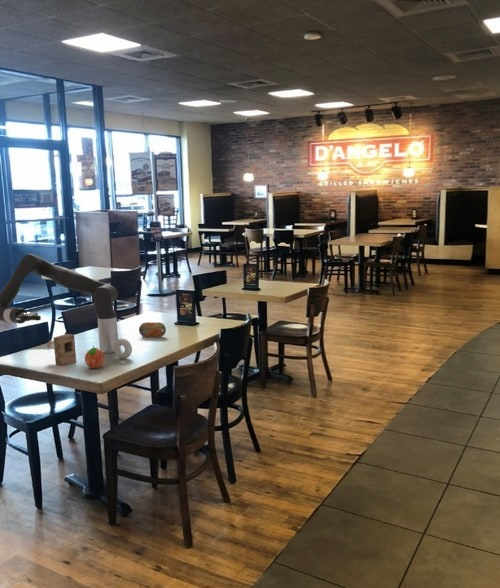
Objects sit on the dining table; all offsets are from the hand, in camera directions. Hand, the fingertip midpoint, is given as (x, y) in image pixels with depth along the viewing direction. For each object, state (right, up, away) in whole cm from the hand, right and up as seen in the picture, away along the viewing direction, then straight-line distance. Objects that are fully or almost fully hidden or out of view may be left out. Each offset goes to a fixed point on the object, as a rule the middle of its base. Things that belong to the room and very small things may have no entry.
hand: (39, 318), depth 279 cm
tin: (+47, -13, +43) cm, 65 cm away
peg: (+10, -15, -3) cm, 18 cm away
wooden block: (+14, -21, -4) cm, 26 cm away
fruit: (+30, -22, -14) cm, 40 cm away
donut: (+40, -20, 0) cm, 45 cm away
